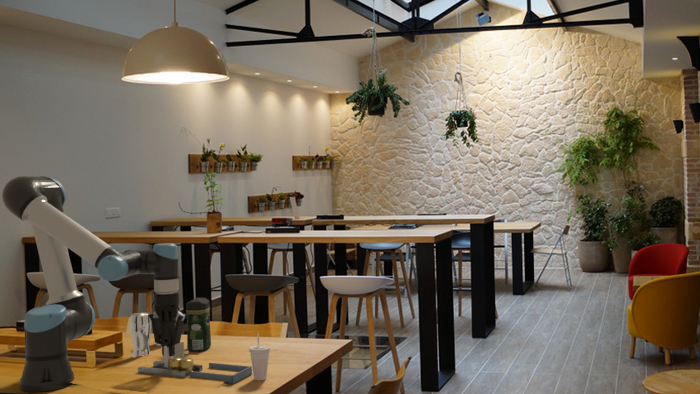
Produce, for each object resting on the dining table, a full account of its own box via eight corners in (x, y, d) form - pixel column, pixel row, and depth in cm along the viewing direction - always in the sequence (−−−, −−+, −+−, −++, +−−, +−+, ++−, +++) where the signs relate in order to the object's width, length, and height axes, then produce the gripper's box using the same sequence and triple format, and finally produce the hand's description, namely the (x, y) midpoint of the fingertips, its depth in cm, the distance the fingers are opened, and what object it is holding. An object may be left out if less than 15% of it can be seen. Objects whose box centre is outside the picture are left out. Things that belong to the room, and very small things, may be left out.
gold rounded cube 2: (188, 374, 207) (188, 362, 207) (177, 373, 208) (177, 361, 208) (195, 371, 210) (195, 358, 210) (185, 370, 212) (185, 357, 212)
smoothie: (260, 374, 209) (259, 330, 209) (275, 378, 205) (274, 332, 205) (245, 379, 204) (244, 334, 204) (259, 383, 200) (258, 336, 200)
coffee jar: (192, 345, 250) (191, 296, 249) (213, 345, 249) (212, 296, 249) (184, 352, 240) (183, 300, 240) (205, 352, 240) (204, 300, 239)
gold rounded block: (177, 373, 208) (177, 361, 208) (167, 372, 209) (166, 360, 209) (185, 370, 212) (184, 357, 212) (174, 369, 213) (174, 357, 213)
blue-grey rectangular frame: (233, 384, 199) (233, 375, 199) (189, 379, 205) (189, 371, 205) (251, 374, 209) (251, 366, 209) (210, 370, 215) (209, 362, 215)
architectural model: (168, 362, 228) (167, 341, 228) (188, 361, 229) (188, 339, 229) (167, 365, 224) (166, 343, 224) (188, 363, 226) (187, 342, 225)
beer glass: (154, 354, 238) (153, 312, 238) (147, 359, 231) (146, 316, 231) (136, 354, 238) (135, 312, 238) (127, 359, 232) (126, 316, 231)
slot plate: (185, 380, 204) (185, 372, 204) (138, 375, 211) (137, 367, 210) (202, 373, 212) (202, 365, 212) (156, 368, 219) (156, 360, 219)
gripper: (190, 291, 212) (193, 364, 213) (157, 289, 217) (159, 361, 217) (176, 294, 205) (178, 370, 206) (142, 293, 210) (144, 367, 211)
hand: (168, 366), depth 212 cm, fingers closed
